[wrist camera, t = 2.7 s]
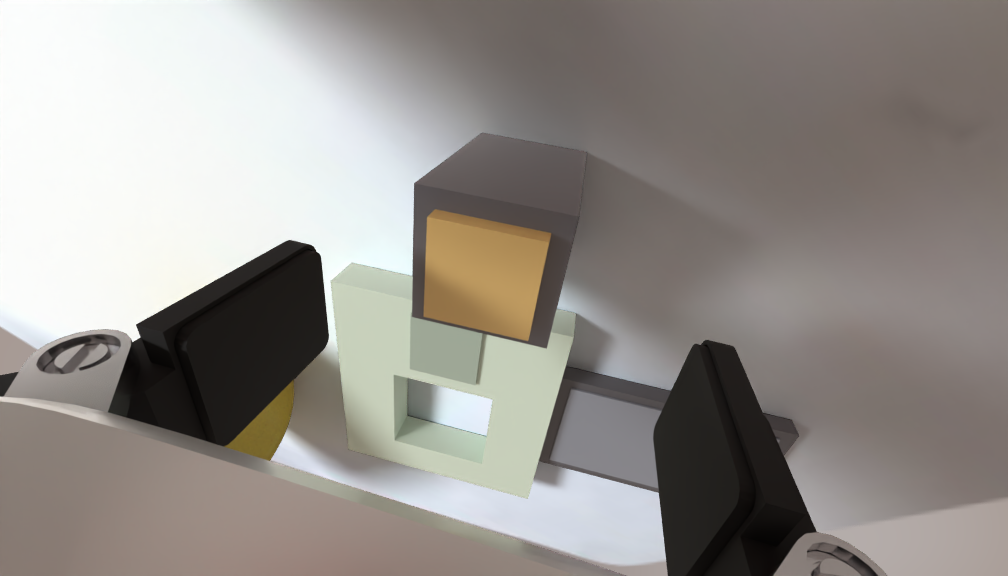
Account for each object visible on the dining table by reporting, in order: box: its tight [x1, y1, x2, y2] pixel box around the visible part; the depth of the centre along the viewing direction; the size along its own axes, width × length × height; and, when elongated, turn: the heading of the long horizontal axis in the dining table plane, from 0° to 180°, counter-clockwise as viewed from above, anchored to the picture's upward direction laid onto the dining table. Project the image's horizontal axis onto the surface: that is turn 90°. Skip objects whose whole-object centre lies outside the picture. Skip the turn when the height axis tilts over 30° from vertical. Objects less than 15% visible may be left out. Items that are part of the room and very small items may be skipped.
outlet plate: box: [331, 263, 576, 499], centre depth 24 cm, size 13×12×2 cm
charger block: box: [412, 133, 587, 349], centre depth 15 cm, size 4×4×8 cm
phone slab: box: [539, 366, 799, 493], centre depth 23 cm, size 7×12×1 cm, turn 82°
